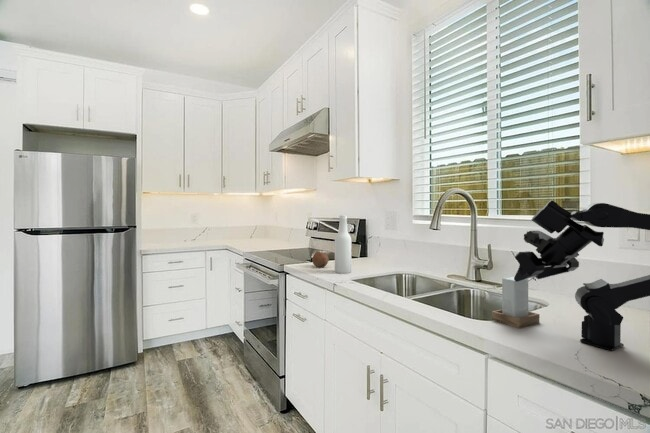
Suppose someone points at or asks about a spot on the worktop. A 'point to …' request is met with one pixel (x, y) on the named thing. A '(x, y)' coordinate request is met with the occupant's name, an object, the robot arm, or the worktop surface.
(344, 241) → the alcohol
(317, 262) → the onion
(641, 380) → the worktop surface
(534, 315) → the walnut tray
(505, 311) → the skincare box
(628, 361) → the worktop surface
